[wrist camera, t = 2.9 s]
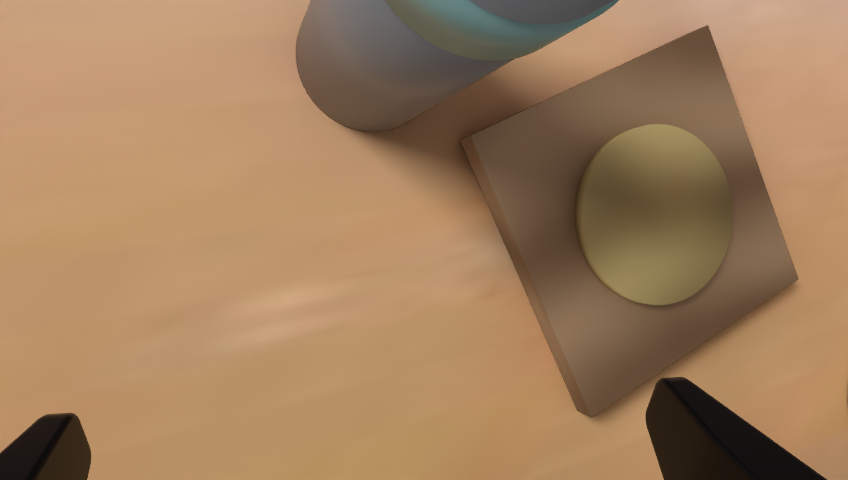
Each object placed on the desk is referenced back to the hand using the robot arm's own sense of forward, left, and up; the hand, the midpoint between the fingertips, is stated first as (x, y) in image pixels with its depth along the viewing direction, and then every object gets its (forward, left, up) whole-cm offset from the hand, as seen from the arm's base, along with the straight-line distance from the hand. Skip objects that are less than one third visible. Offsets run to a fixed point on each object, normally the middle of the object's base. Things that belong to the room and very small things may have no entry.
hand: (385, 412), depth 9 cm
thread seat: (-3, -14, -12) cm, 19 cm away
